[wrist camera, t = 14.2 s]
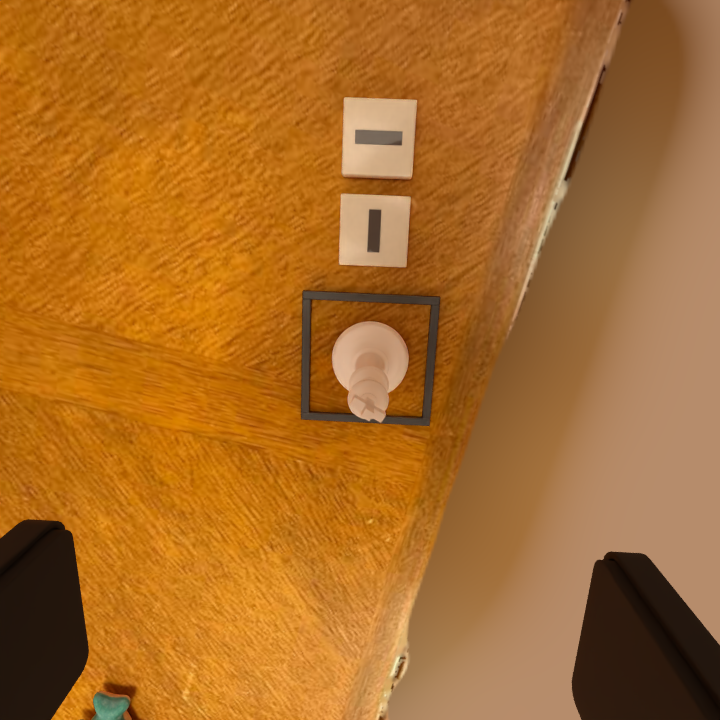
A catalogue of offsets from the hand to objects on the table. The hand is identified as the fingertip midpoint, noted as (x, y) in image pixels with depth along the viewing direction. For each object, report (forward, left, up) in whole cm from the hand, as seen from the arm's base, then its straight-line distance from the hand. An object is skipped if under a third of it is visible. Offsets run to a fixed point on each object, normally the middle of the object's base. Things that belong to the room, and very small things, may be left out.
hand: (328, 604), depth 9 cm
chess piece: (+1, 0, -23) cm, 23 cm away
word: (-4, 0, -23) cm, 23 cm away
